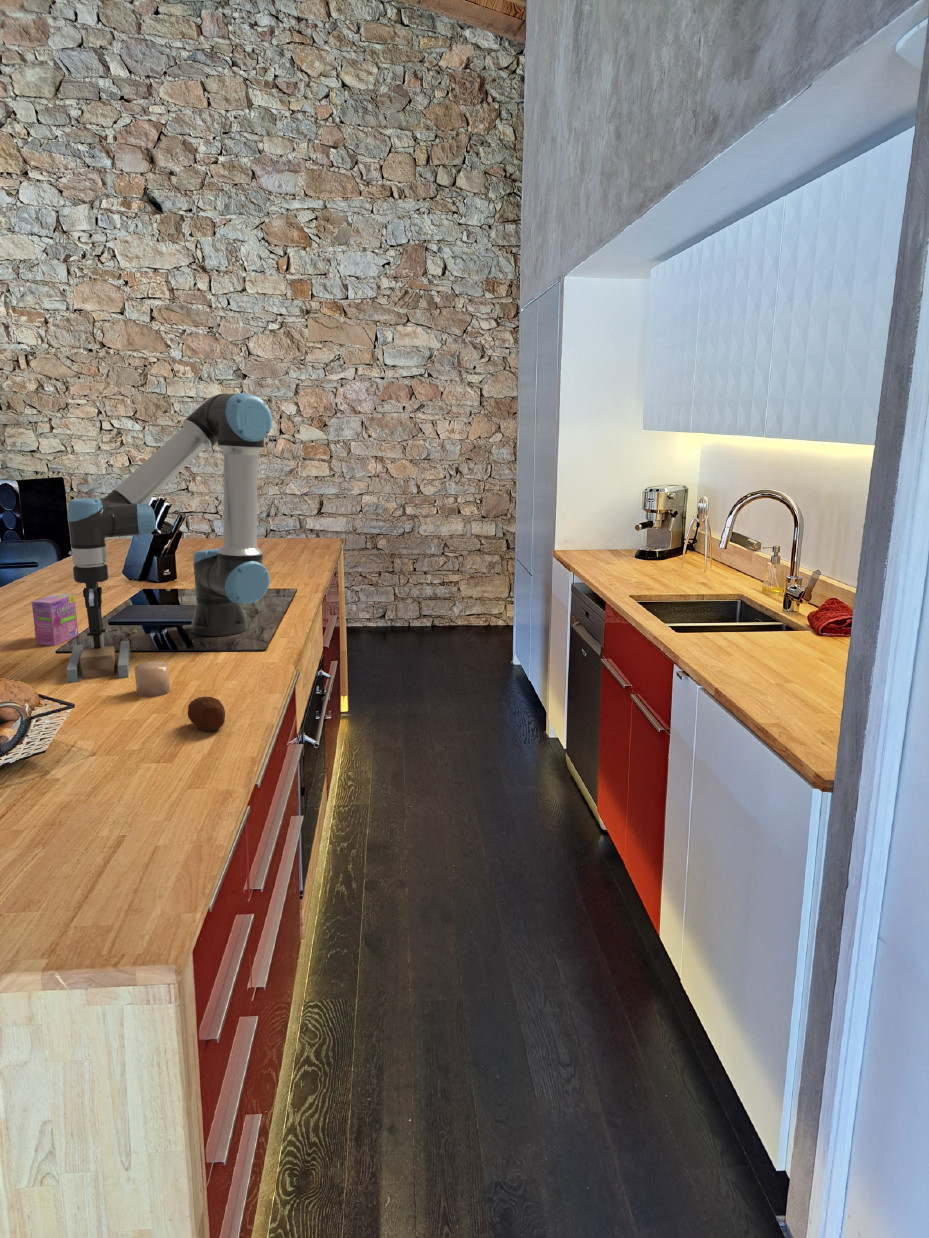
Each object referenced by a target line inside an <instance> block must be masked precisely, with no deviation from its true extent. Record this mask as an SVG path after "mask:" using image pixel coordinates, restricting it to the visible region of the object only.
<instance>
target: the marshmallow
mask: <svg viewBox="0 0 929 1238" xmlns="http://www.w3.org/2000/svg"><path fill="white" fill-rule="evenodd" d="M169 673H170V672H169V664H168V662H165V661H155V660H154V661H147V662H141V663H138V664H136V665H135V666H134V677H135V689H136V695H137V696H138V697H142V698H143V697H144V698H153V697H160V696H164V695H167V694H168V693H170V691H171V685H170V683H171V682H170V674H169Z"/></svg>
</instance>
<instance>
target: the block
mask: <svg viewBox="0 0 929 1238" xmlns="http://www.w3.org/2000/svg"><path fill="white" fill-rule="evenodd" d="M115 649H116V648H115V645H114V646H112V645H111V646H104V647H101V648H98V649H94V648H92V647H88V648H84V647H83V650H82V654H81V657H80V660H81V669H82V678H81V679H87V678H98V677H99V678H101V677H109V676H111V677H112V676H116V671H117V662H116V661H117V660H116V651H115Z"/></svg>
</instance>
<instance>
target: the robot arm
mask: <svg viewBox="0 0 929 1238" xmlns="http://www.w3.org/2000/svg"><path fill="white" fill-rule="evenodd" d="M272 426H273V417H272V412H271V410H270V408H269V406H268V405H267V403H265V401H264V400H263V399H261V398H260V397H258V396H256V395H254V394H251V393H250V394H249V393H245V392H242V393H239V392H238V393H218V394H216V395H214V396H211V397H210V398H208V399H207V400H206V401H204V402H203V403H202V404H201V405H200V406H199V407H197V408H196V409H195V410H194V411H192V413H190V415H188V417H186V418H185V419H184V420H183V421H182V428H180V429H179V430H178V431H177V432H176V433H175V434H174V435H173V436H171V438H169V439H168V440H167V441H166V442H165V443H164V444H162V446H160V447H159V448H158V449H157V450H156V451H155V452H153V453H152V454H151V455H150V456H149V457H148V458H147V459H146V460H145V461H144V462H143V463H142V464H141V465H139V466H138V467H137V468H136V469H135V470H134V471H133V472H132V473H130V475H128V476H127V478H125V479H124V480H123V481H122V482H121V483H120V484H118V485H117V486H116V487H115V488H114V489H113V490H112V491H110V492H109V493H108V494H107V495H106V496H105V497H102V498H97V497H80V498H73V499H70V500H69V501H68V502H67V519H66V520H67V521H68V522H67V523H68V530H69V539H70V547H71V549H70V550H71V551H69V550H68V551H69V552H68V555H69V556H72V557H71V559H72V560H71V561H72V564H73V565H74V566H73V567H72V573H73V580H74V582H76V583H78V584H85V587H84V588H83V590H82V596H83V598H84V604H85V608H86V614H87V620H88V621H87V622H88V630H89V631H88V632H87V633H86V635H87V637H90V644H91V646H90V648H94V649H98V648H101V647H105V642H104V633H106V631H107V629H106V628H103V626H104V624H103V618H102V604H103V599H102V598H103V597H102V594H103V587H102V586H99V583H103V582H106V581H107V580H108V579H109V572H108V571H109V569H108V568H109V567H108V565H107V564H106V563H108V556H107V546H106V539H108V538H109V539H110V538H117V537H130V536H139V537H141V536H142V535H149V534H152V533H153V532H154V531H155V529H156V523H157V521H156V514H155V511H154V509H153V507H152V506H151V504H148V503H147V502H149V500H150V499H152V497H153V496H154V495H156V494H157V493H158V492H160V490H161V489H162V488H164V486H165V485H167V483H168V482H170V481H171V480H172V479H173V478H174V477H175V476H176V475H177V474H179V472H181V471H182V470H183V469H184V468H185V467H187V465H189V463H191V462H192V461H193V460H194V459H195V458H196V457H197V456H198V455H200V453H201V452H203V451H204V450H211V449H212V447H214V446H215V445H216V444H217V447H218V449H220V450H221V451H222V453H223V543H222V546H221V547H219V548H212V549H209V548H208V549H203V550H197V551H195V552H194V554H193V563H192V565H193V572H194V574H193V575H194V585H195V598H196V606H195V610H194V614H193V617H192V620H191V633H193V634H194V635H199V636H203V637H222V636H229V635H235V634H239V633H243V632H245V631H247V629H248V620H247V617H246V615H245V612H244V610H243V609H244V608H243V607H242V604H243V605H249V604H254V603H256V602H259V600H261V598H263V596H265V594H266V593H267V592H268V590H269V587H270V581H271V578H270V577H271V576H270V573H269V570H268V569H267V568H266V567H265V565H264V564H263V551H262V550H261V548H260V547H258V474H259V473H258V471H259V470H258V469H259V468H258V467H259V466H258V465H259V464H258V463H259V454H260V453H261V452H262V451H263V450H264V449H265V438H266V437H267V436H268V434H270V432H271V430H272Z"/></svg>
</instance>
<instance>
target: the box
mask: <svg viewBox="0 0 929 1238" xmlns="http://www.w3.org/2000/svg"><path fill="white" fill-rule="evenodd" d="M31 607H32V616H33V626H34V635H35V642H36V645H39V646H51V647H55V646H57V645H60V644H61V643H65V642H66V641H69V640H72V639H74V638H76V637H79V627H78V617H77V609H76V608H77V607H76V595H75V594H72V593H61V592H60V593H53V594H51V595H48V596H46V597H42V598H40V599H36V600H33V601H31Z"/></svg>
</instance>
